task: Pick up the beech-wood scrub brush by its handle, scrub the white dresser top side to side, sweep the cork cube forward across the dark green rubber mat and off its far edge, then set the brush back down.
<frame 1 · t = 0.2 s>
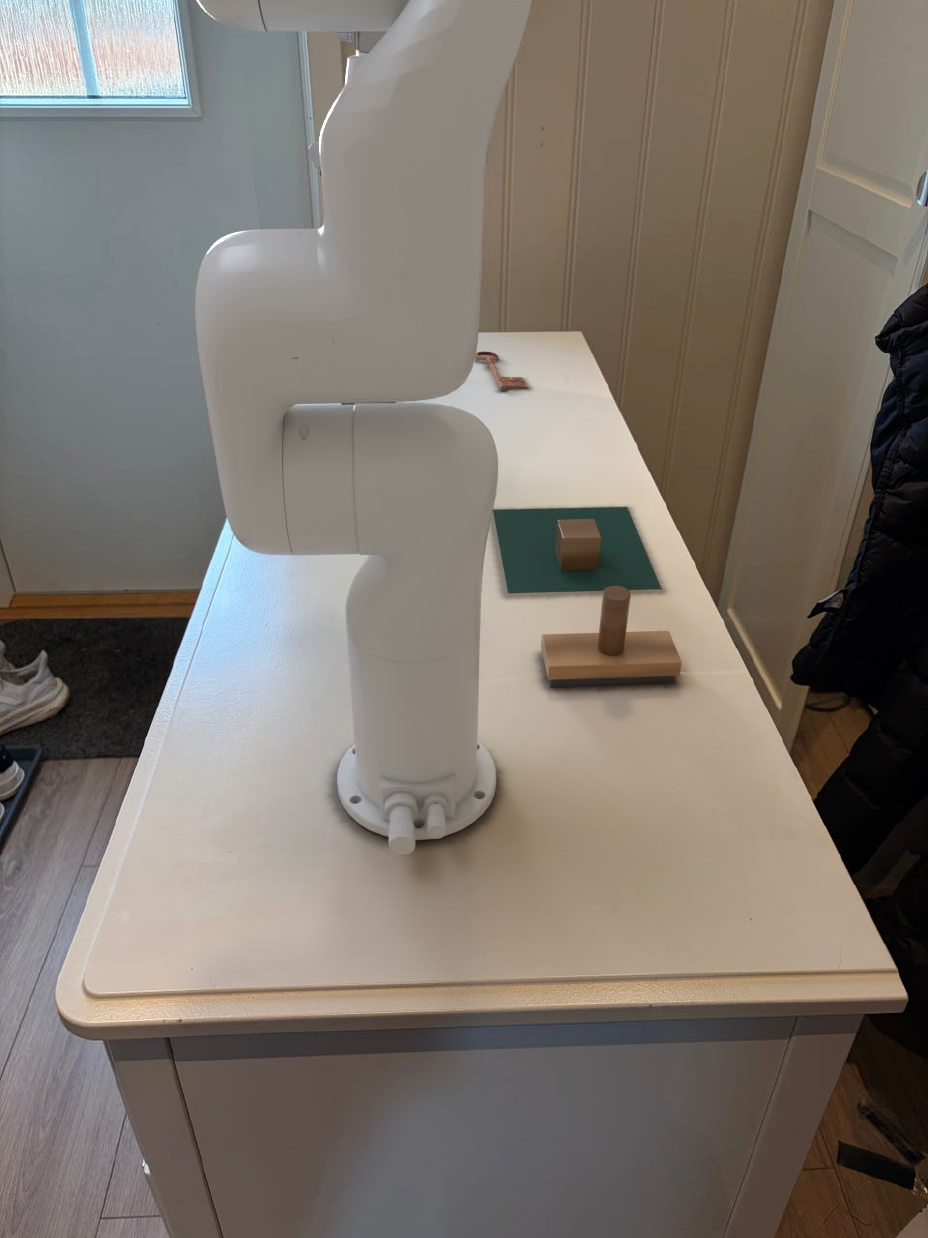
hand: (402, 237, 98), 31 cm above the table, tool pointing down, fingers open, 9 cm apart
key: (499, 373, 154), on the table
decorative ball: (369, 414, 140), on the table
mat: (571, 548, 109), on the table
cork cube: (576, 560, 107), resting on mat
brush: (608, 669, 91), on the table
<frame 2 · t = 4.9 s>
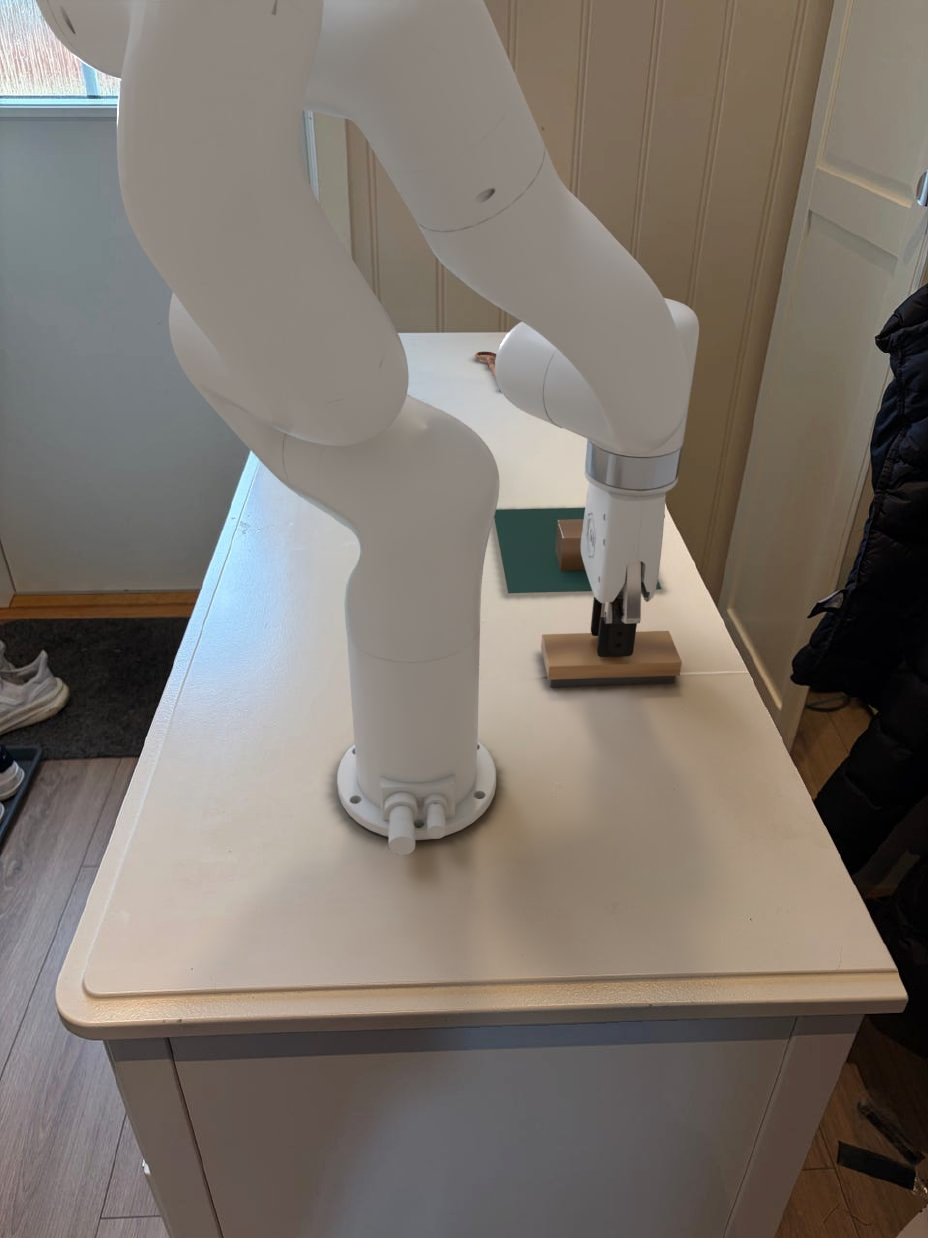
hand: (611, 642, 90), 3 cm above the table, tool pointing down, fingers closed on brush, 2 cm apart
brush: (608, 669, 91), on the table, touching gripper
everything else where it was.
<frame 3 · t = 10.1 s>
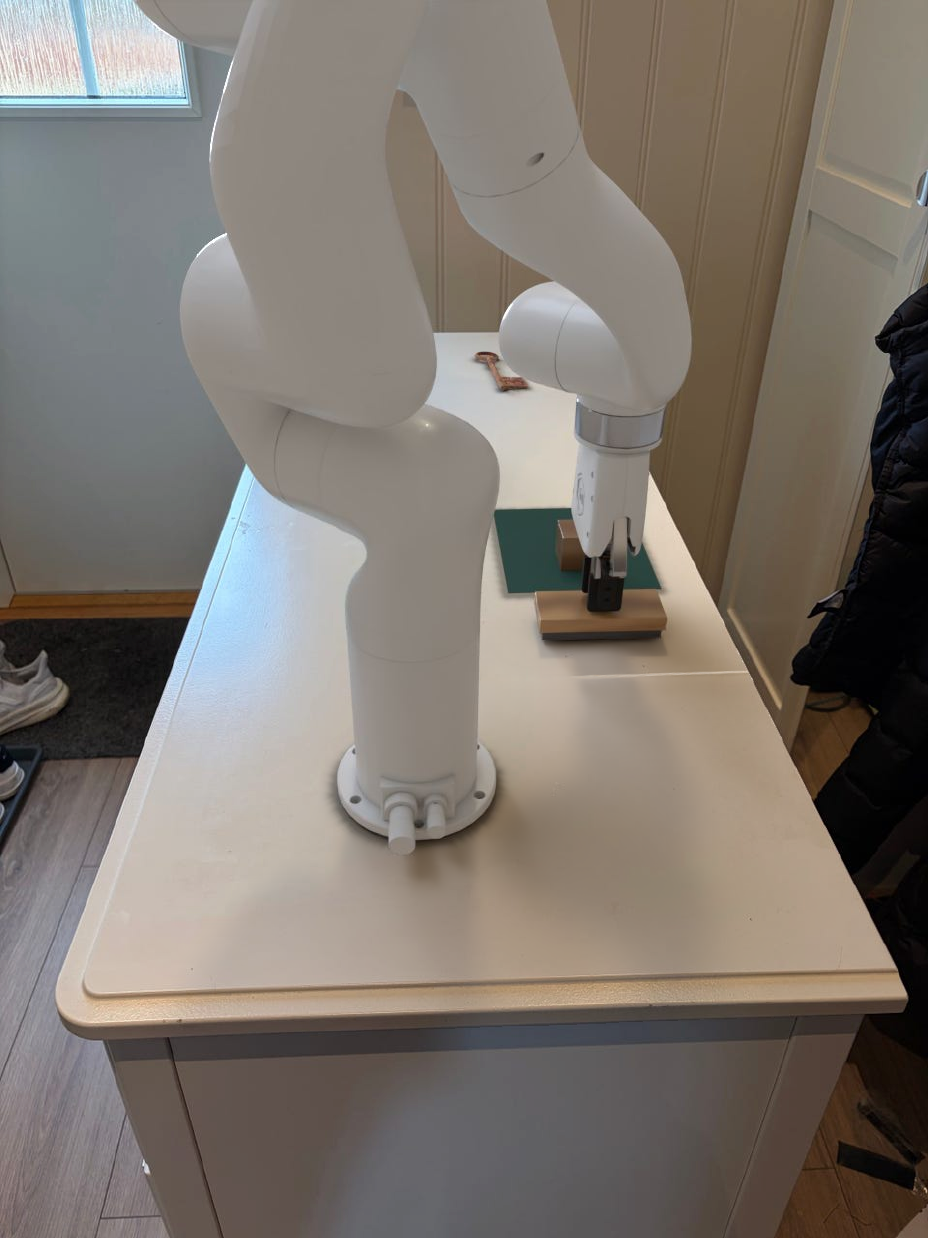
hand: (600, 599, 94), 4 cm above the table, tool pointing down, fingers closed on brush, 2 cm apart
brush: (597, 625, 96), point 1 cm above the table, touching gripper
everything else where it was.
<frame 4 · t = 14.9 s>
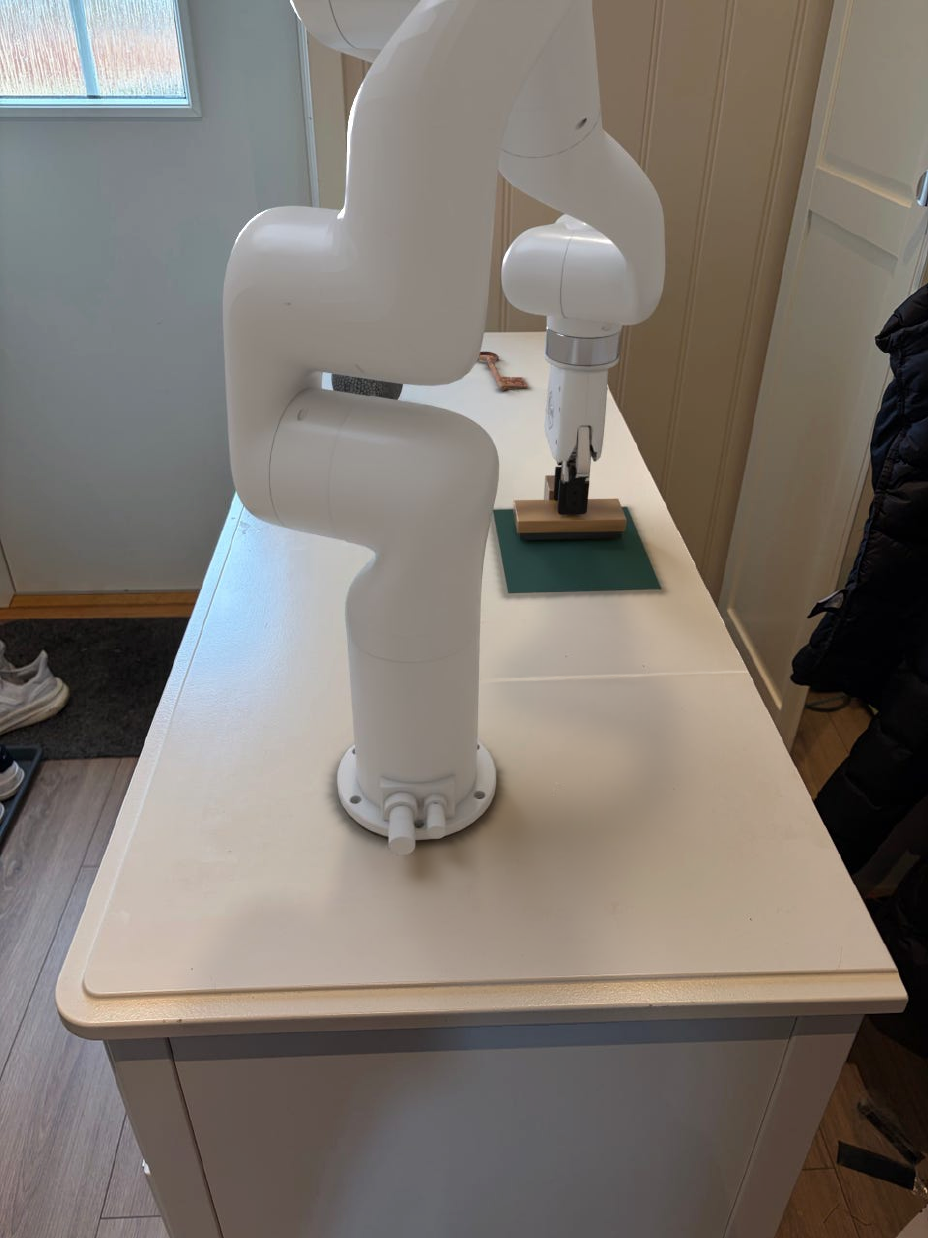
hand: (569, 505, 110), 4 cm above the table, tool pointing down, fingers closed on brush, 2 cm apart
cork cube: (562, 513, 116), resting on mat
brush: (567, 529, 112), point 1 cm above the table, touching gripper
everything else where it was.
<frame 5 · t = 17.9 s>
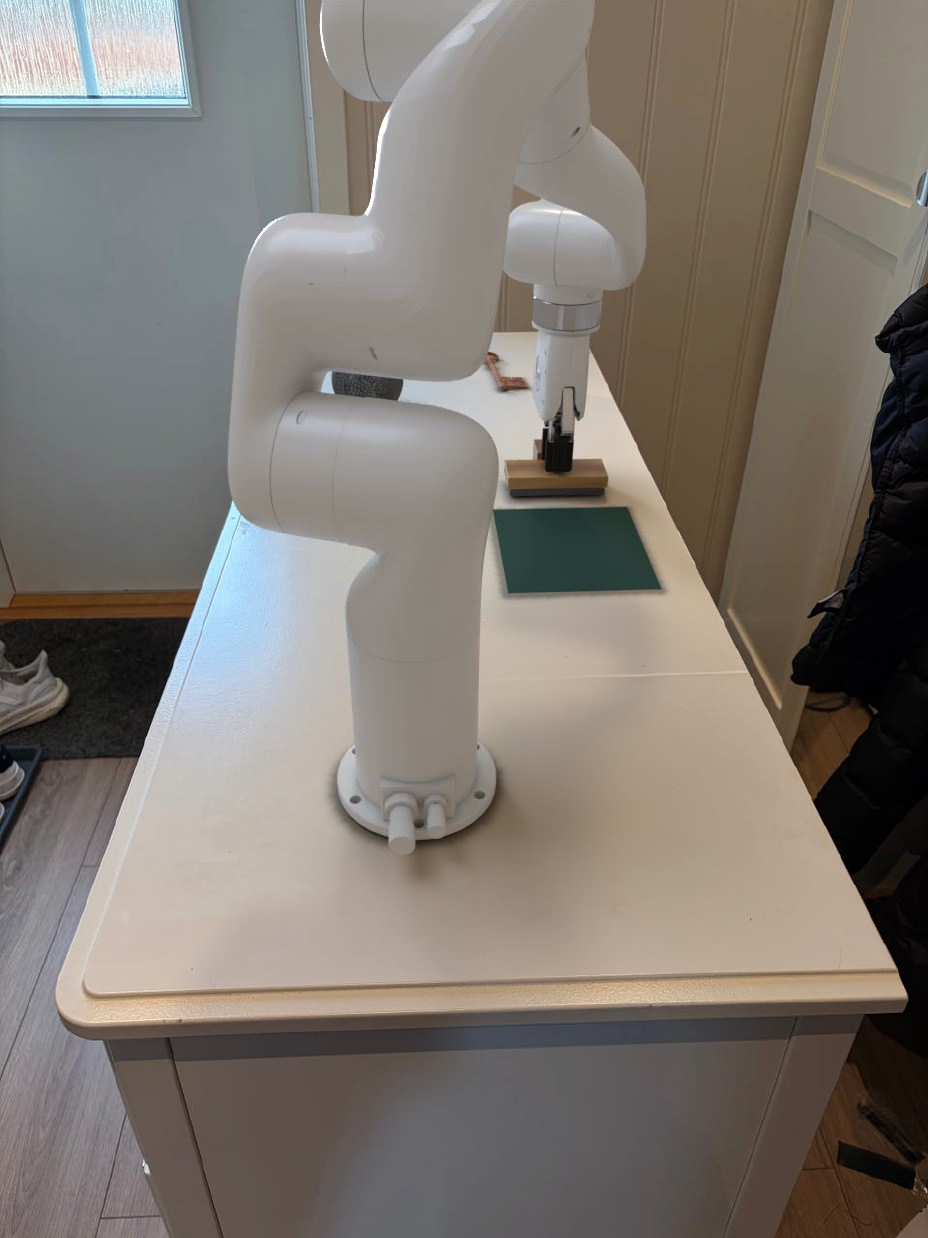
hand: (556, 463, 119), 4 cm above the table, tool pointing down, fingers closed on brush, 2 cm apart
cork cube: (549, 474, 125), on the table, touching brush
brush: (554, 486, 120), point 1 cm above the table, touching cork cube, gripper
everything else where it was.
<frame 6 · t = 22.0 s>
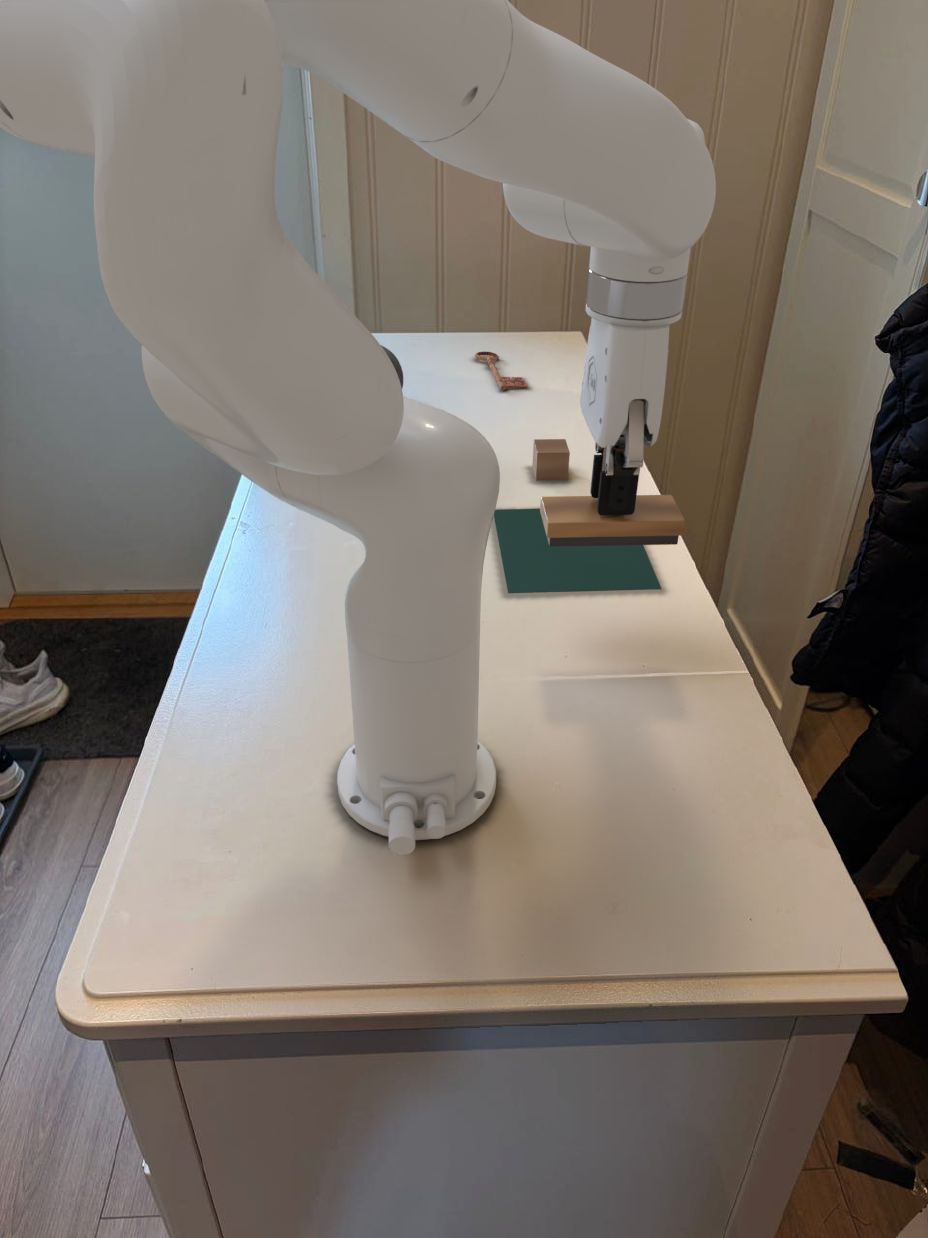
hand: (611, 503, 87), 15 cm above the table, tool pointing down, fingers closed on brush, 2 cm apart
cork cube: (549, 474, 125), on the table
brush: (608, 533, 89), point 12 cm above the table, touching gripper
everything else where it was.
when the fingers open (3 cm above the table, at t = 25.2 s): brush stays where it is, on the table.
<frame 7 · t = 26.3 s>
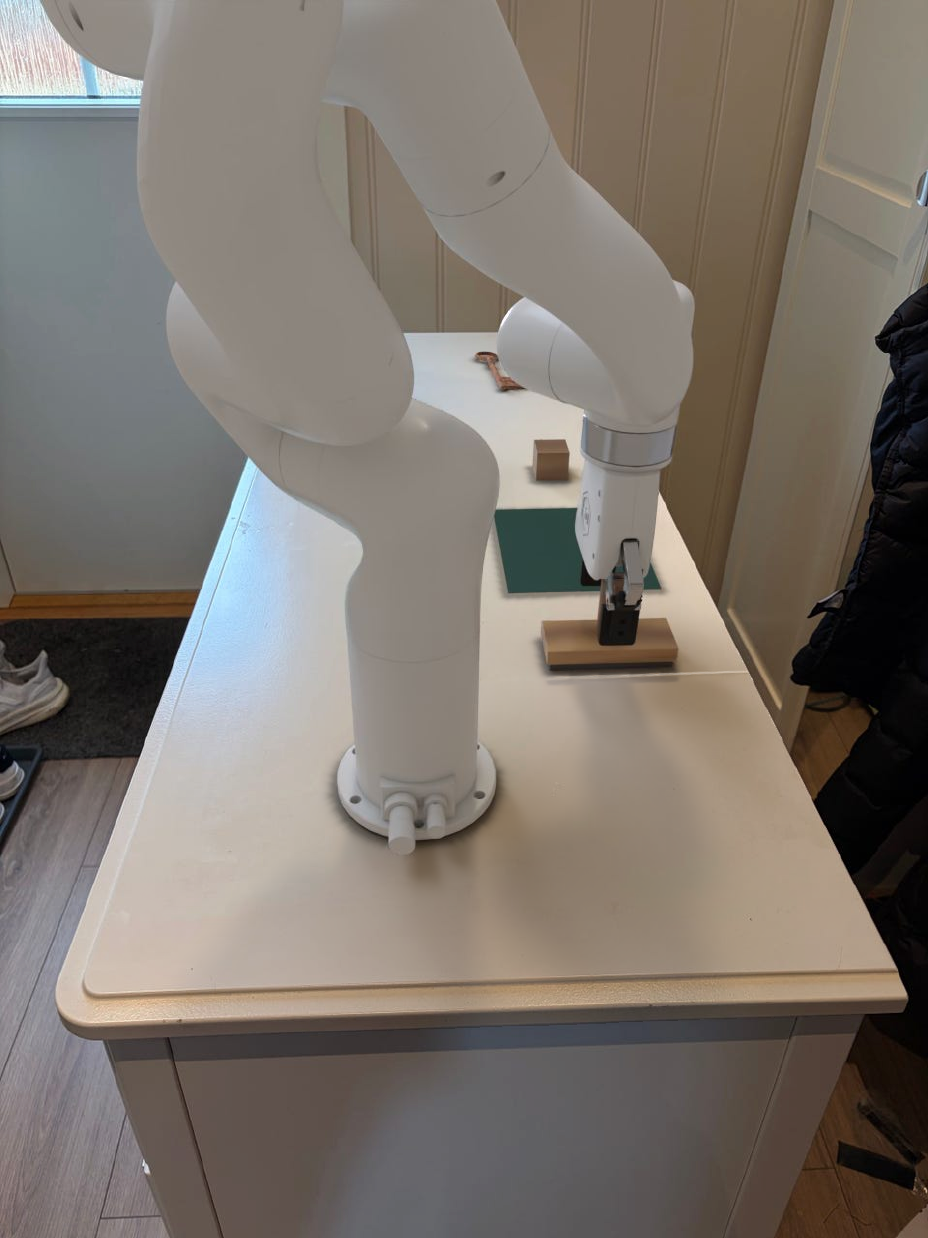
hand: (605, 612, 90), 5 cm above the table, tool pointing down, fingers open, 9 cm apart
brush: (606, 655, 93), on the table
everything else where it was.
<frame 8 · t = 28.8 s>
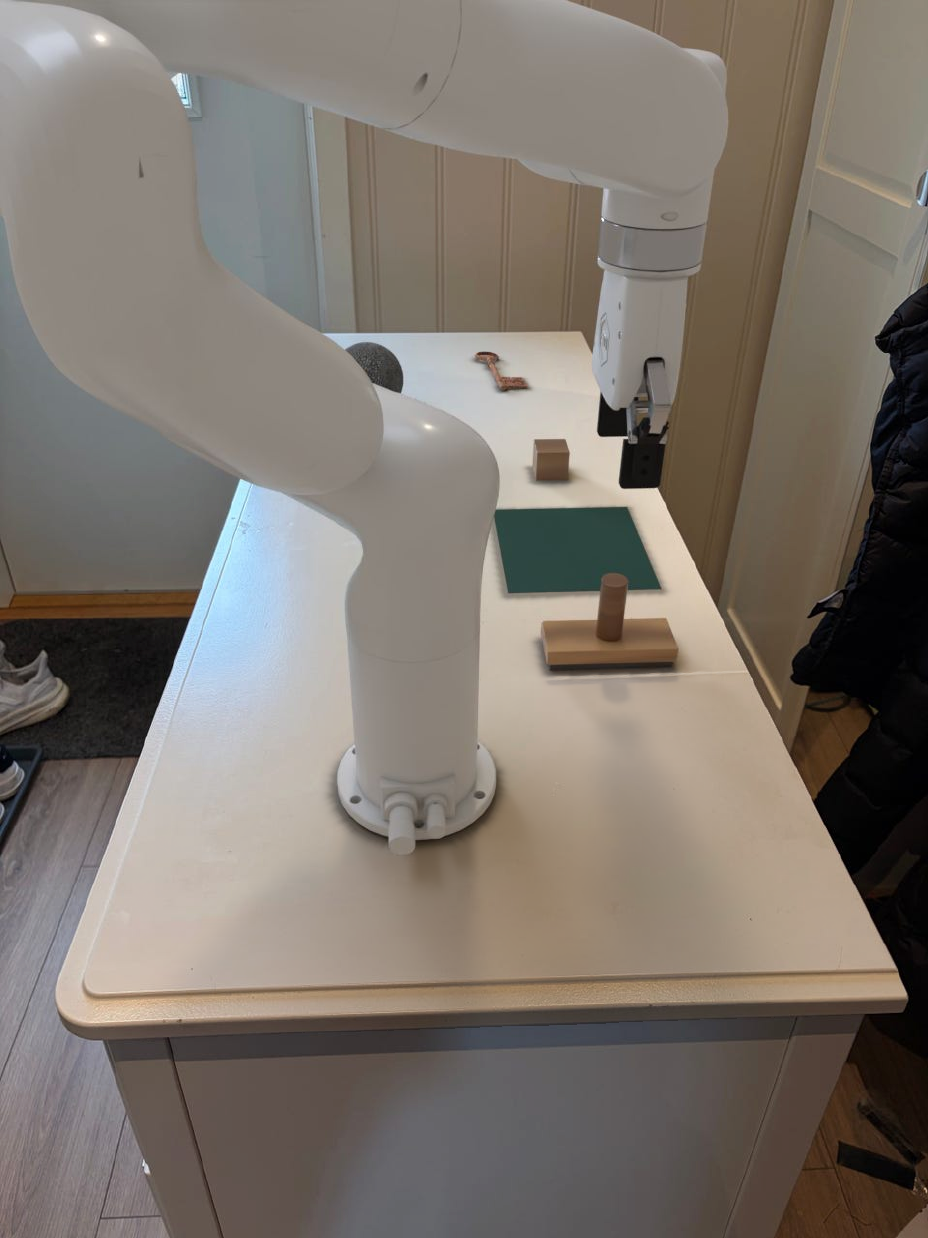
hand: (626, 459, 81), 20 cm above the table, tool pointing down, fingers open, 9 cm apart
nothing on the table moved.
at the end: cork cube inside the target area on the table beside the mat (0.4 cm from its centre), on the table; the gripper is holding nothing; brush on the table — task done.
